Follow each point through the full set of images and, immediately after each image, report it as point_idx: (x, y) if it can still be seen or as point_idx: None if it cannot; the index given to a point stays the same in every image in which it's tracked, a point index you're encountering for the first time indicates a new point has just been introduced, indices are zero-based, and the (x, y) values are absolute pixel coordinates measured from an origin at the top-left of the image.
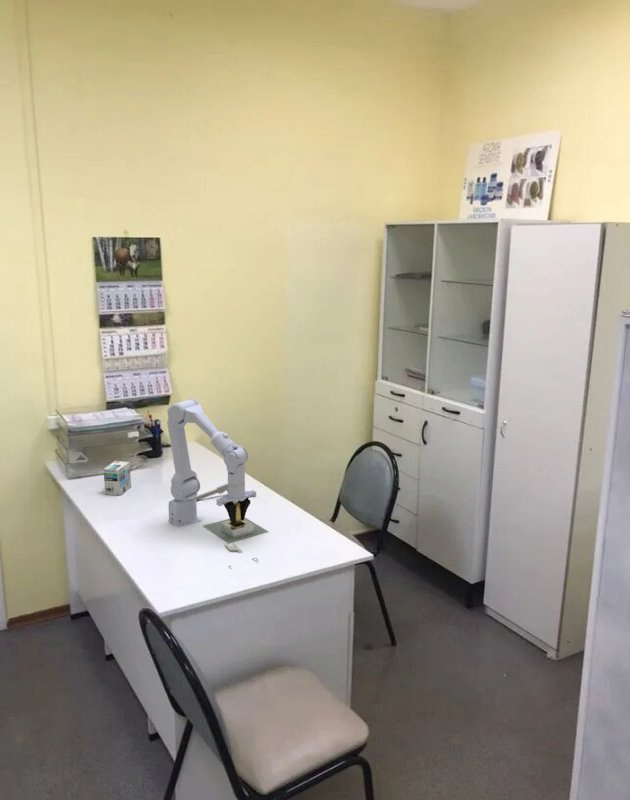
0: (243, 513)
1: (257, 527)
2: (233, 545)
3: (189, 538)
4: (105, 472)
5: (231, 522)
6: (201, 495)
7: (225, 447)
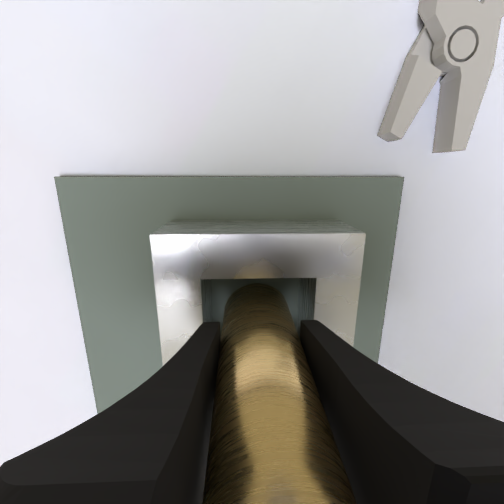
0: (205, 358)
1: (100, 287)
2: (431, 86)
3: (499, 380)
4: None
5: None
6: None
7: None
